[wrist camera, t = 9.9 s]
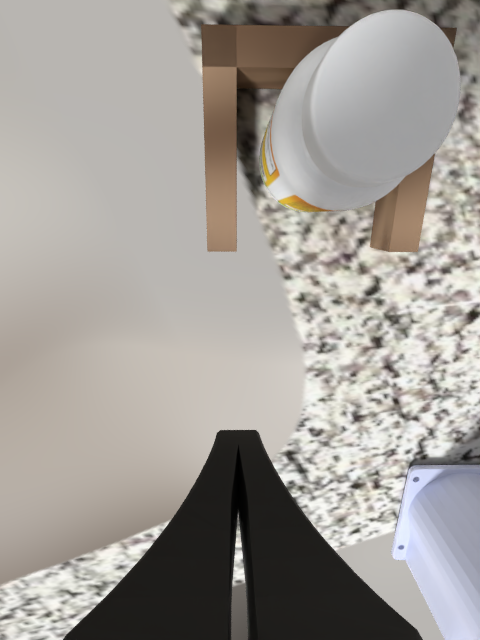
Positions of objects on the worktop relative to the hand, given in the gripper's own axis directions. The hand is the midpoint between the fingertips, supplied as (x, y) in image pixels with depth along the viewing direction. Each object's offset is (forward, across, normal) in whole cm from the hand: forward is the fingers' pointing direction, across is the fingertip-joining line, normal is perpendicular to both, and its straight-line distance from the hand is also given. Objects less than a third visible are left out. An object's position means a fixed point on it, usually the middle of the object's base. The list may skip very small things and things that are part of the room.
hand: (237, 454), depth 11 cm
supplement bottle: (+11, -4, -11) cm, 15 cm away
